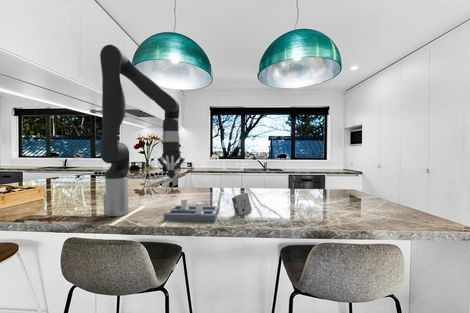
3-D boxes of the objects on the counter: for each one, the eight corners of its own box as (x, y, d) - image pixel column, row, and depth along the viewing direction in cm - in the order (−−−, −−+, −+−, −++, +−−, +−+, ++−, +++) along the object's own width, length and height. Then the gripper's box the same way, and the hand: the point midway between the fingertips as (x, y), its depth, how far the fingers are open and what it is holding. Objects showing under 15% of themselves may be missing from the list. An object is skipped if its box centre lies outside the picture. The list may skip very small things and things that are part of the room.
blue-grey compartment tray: (164, 220, 98) (164, 213, 98) (174, 210, 112) (174, 205, 112) (214, 221, 97) (214, 214, 97) (219, 211, 111) (219, 205, 111)
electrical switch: (240, 216, 104) (239, 195, 104) (231, 215, 107) (230, 195, 107) (252, 211, 111) (250, 192, 111) (243, 210, 115) (242, 192, 115)
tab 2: (194, 216, 100) (194, 203, 99) (196, 213, 103) (196, 201, 103) (202, 216, 99) (202, 204, 99) (203, 214, 103) (203, 202, 102)
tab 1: (179, 211, 107) (179, 199, 106) (182, 209, 110) (181, 198, 110) (187, 211, 106) (186, 200, 106) (188, 209, 110) (188, 198, 109)
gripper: (153, 141, 103) (154, 179, 104) (182, 141, 102) (183, 179, 103) (160, 141, 111) (160, 176, 112) (187, 141, 110) (187, 176, 111)
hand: (171, 177), depth 108 cm, fingers closed
